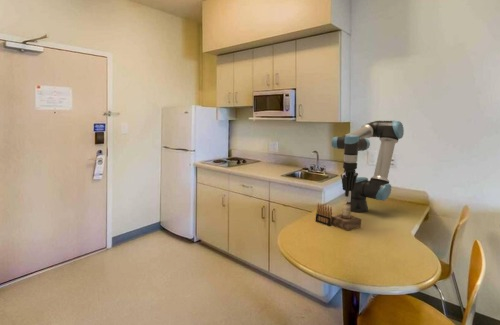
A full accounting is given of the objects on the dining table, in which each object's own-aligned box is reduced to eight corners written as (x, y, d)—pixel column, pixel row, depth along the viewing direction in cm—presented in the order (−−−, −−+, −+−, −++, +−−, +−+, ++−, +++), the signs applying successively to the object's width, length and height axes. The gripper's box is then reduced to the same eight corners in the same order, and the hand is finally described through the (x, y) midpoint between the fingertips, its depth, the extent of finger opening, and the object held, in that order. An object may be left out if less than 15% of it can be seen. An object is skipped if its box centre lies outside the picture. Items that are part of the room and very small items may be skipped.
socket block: (330, 224, 171) (331, 216, 170) (344, 221, 177) (344, 213, 177) (347, 230, 161) (347, 222, 160) (360, 227, 167) (361, 218, 167)
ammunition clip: (315, 221, 176) (316, 202, 174) (317, 220, 177) (318, 202, 175) (330, 226, 168) (331, 206, 166) (332, 225, 169) (333, 206, 167)
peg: (346, 226, 166) (347, 206, 165) (340, 224, 170) (342, 204, 168) (350, 224, 168) (352, 205, 167) (345, 222, 172) (346, 203, 170)
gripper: (348, 163, 157) (345, 204, 161) (363, 162, 164) (360, 201, 168) (337, 161, 164) (335, 201, 167) (352, 160, 171) (349, 198, 174)
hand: (347, 201), depth 167 cm, fingers closed
